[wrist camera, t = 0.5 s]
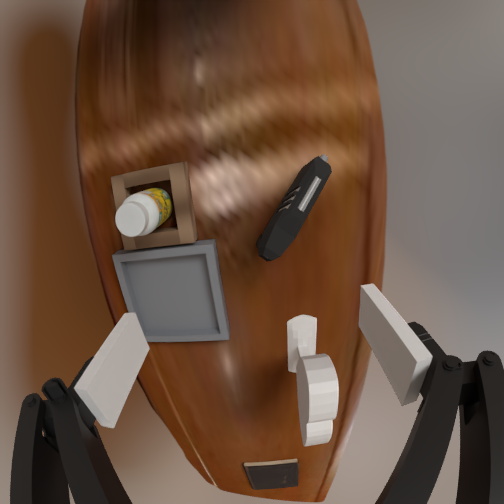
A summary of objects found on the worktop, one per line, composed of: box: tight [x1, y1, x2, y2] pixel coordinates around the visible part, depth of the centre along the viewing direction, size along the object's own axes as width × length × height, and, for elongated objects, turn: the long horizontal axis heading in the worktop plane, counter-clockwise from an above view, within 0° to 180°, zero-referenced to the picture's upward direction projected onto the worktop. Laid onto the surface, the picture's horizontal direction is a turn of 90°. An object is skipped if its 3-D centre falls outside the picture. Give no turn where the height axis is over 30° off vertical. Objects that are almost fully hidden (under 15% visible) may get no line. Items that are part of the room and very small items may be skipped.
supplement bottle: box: [115, 188, 173, 237], centre depth 33 cm, size 5×5×10 cm
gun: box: [256, 155, 332, 261], centre depth 35 cm, size 3×16×10 cm, turn 145°
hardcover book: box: [243, 459, 299, 490], centre depth 64 cm, size 16×23×2 cm
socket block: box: [111, 162, 198, 250], centre depth 36 cm, size 11×11×2 cm
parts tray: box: [112, 239, 230, 342], centre depth 41 cm, size 16×16×2 cm
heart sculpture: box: [287, 315, 339, 446], centre depth 37 cm, size 16×5×18 cm, turn 5°
